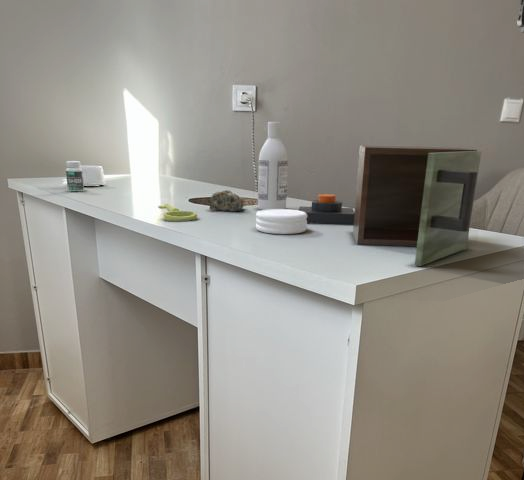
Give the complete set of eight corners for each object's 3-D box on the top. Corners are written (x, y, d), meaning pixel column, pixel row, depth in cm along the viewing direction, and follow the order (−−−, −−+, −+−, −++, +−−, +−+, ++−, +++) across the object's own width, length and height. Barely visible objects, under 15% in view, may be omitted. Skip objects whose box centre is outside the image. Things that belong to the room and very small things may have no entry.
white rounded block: (111, 185, 183) (110, 166, 181) (87, 187, 176) (85, 167, 174) (88, 183, 190) (86, 164, 187) (64, 185, 182) (61, 165, 180)
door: (498, 253, 92) (516, 152, 86) (455, 272, 79) (473, 154, 73) (460, 247, 95) (475, 150, 89) (414, 264, 82) (428, 152, 77)
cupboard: (462, 248, 96) (477, 149, 90) (357, 244, 97) (365, 147, 91) (447, 235, 107) (459, 147, 101) (352, 232, 108) (359, 145, 102)
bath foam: (286, 207, 140) (289, 122, 133) (285, 211, 134) (289, 122, 127) (258, 207, 141) (260, 121, 133) (257, 210, 134) (258, 121, 127)
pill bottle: (66, 191, 164) (63, 161, 161) (68, 190, 169) (65, 160, 165) (83, 191, 165) (80, 162, 162) (85, 190, 169) (82, 161, 166)
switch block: (351, 217, 127) (353, 199, 125) (354, 224, 117) (356, 205, 116) (299, 216, 128) (299, 198, 126) (297, 222, 118) (298, 203, 117)
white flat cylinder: (317, 231, 108) (318, 213, 107) (277, 236, 103) (277, 217, 101) (284, 224, 116) (285, 207, 114) (245, 228, 110) (246, 210, 109)
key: (167, 212, 128) (167, 203, 127) (201, 219, 120) (201, 209, 119) (141, 215, 123) (140, 205, 123) (174, 222, 115) (174, 212, 115)
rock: (215, 207, 139) (215, 188, 137) (246, 208, 138) (246, 189, 136) (208, 211, 132) (208, 191, 131) (240, 212, 131) (240, 192, 130)
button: (334, 202, 123) (335, 194, 122) (335, 204, 119) (335, 196, 119) (318, 202, 123) (318, 194, 122) (318, 204, 120) (319, 195, 119)
